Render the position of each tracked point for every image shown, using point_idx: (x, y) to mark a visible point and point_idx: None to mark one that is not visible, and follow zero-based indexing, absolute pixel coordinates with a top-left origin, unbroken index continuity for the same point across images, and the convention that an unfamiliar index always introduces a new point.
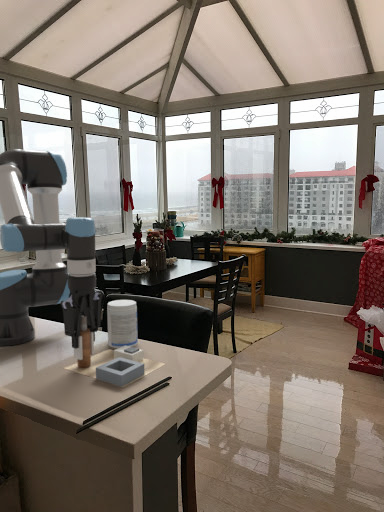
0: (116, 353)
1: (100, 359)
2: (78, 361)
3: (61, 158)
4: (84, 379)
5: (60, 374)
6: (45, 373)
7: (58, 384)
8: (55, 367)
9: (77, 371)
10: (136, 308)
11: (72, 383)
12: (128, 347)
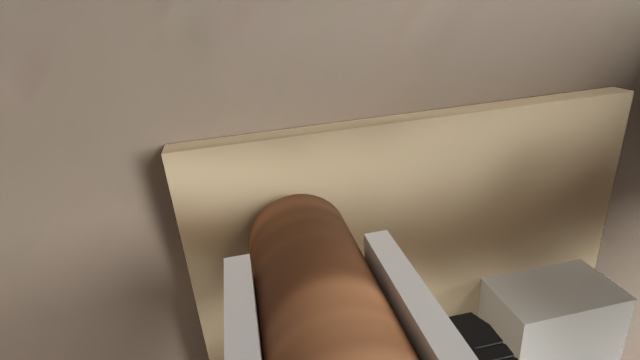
0: (510, 331)
1: (447, 212)
2: (251, 262)
3: None
4: (199, 336)
5: (118, 168)
6: (22, 55)
7: (23, 299)
8: (160, 6)
9: (205, 275)
10: None
11: (109, 339)
12: (608, 343)
